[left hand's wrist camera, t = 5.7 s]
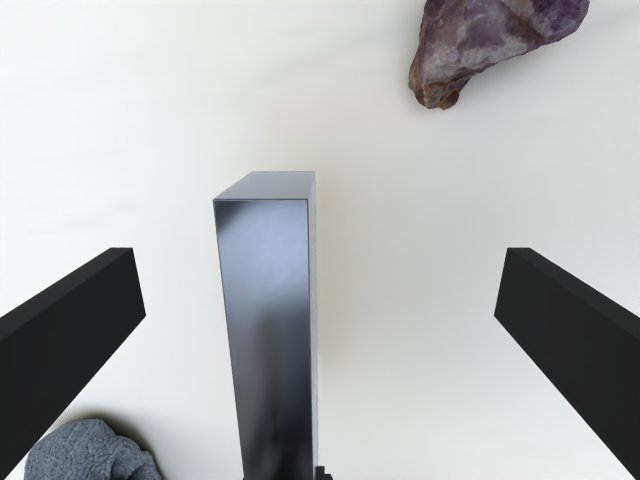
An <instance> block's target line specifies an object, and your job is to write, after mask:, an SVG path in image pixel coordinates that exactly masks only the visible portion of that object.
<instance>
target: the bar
mask: <svg viewBox="0 0 640 480" xmlns="http://www.w3.org/2000/svg"><path fill="white" fill-rule="evenodd" d="M213 207H214V216H215V225H216V234H217V242H218V251H219V260H220V269H221V278H222V287H223V295H224V304H225V313H226V322H227V331H228V339H229V348H230V357H231V366H232V375H233V384H234V392H235V401H236V410H237V419H238V428H239V437H240V445H241V454H242V463H243V472H244V480H316V467H317V466H318V391H317V302H316V213H315V172H314V171H252V172H250V173H249V174H248V175H246V176H245V177H243V178H242V179H241V180H239V181H238V182H236V183H235V184H234V185H232V186H231V187H229V188H228V189H227V190H225V191H224V192H222V193H221V194H220V195H218V196H217V197H215V198H214V199H213Z"/></svg>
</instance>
